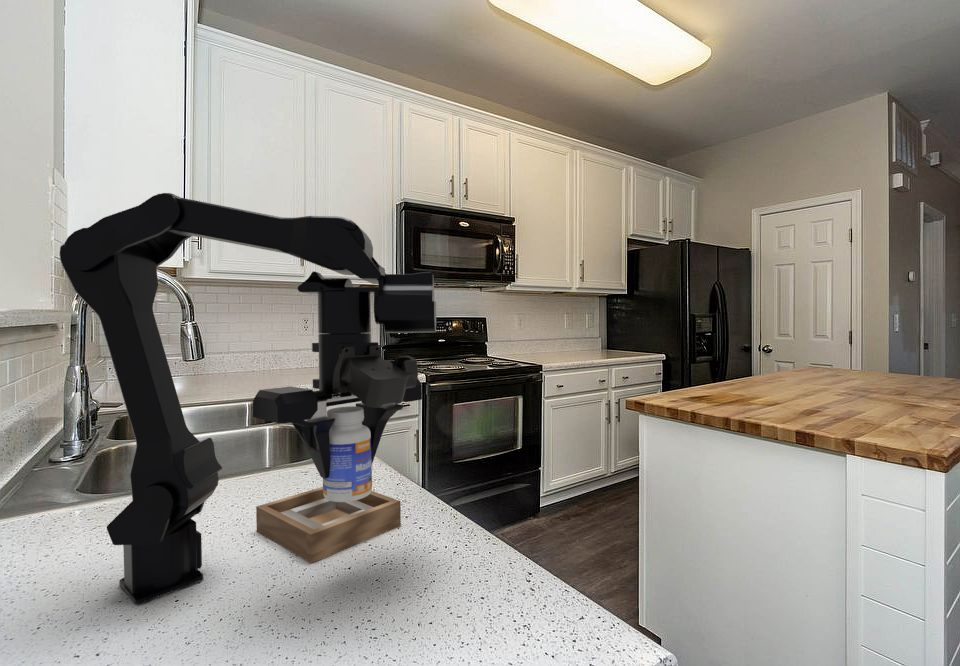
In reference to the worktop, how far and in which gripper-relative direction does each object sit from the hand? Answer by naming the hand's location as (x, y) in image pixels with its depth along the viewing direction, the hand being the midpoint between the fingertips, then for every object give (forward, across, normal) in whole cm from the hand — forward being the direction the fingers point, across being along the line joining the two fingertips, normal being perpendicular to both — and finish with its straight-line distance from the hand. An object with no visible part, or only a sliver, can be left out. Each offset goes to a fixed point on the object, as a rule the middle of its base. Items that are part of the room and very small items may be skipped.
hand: (347, 471), depth 55 cm
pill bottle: (+3, 0, 0) cm, 3 cm away
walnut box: (+12, +6, +13) cm, 19 cm away
